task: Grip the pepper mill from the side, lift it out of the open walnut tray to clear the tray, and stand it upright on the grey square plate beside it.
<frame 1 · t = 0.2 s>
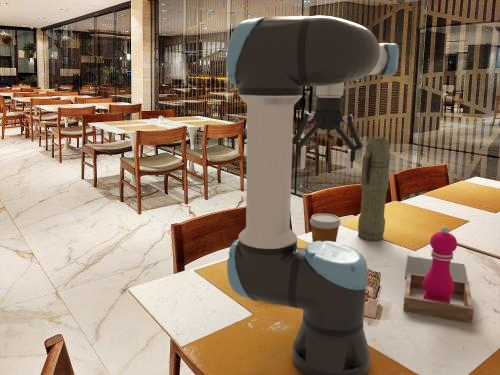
hand: (325, 170, 131), 28 cm above the table, tool pointing down, fingers open, 13 cm apart
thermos: (370, 237, 156), on the table
disposable coffee cup: (323, 254, 142), on the table
pie: (278, 284, 122), on the table
grey square plate: (435, 271, 129), on the table
pepper mill: (436, 302, 112), resting in walnut tray
walnut tray: (436, 302, 112), on the table
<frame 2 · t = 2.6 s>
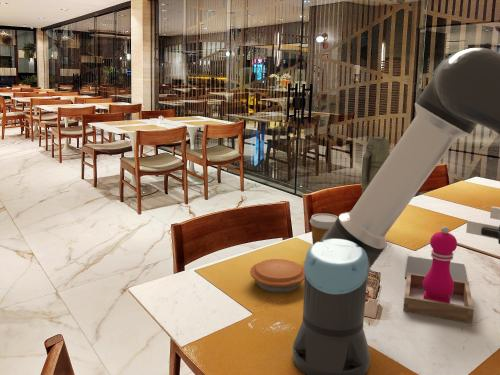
hand: (479, 218, 101), 24 cm above the table, tool horizontal, fingers open, 13 cm apart
nothing on the table moved.
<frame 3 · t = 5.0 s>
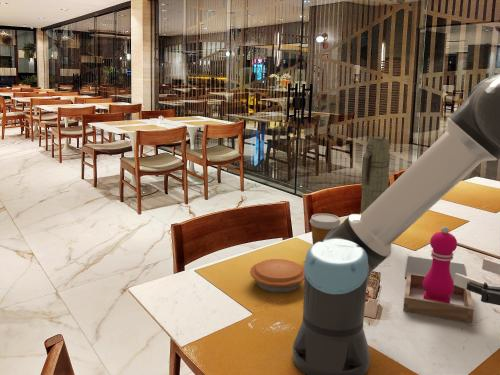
hand: (469, 270, 104), 11 cm above the table, tool horizontal, fingers open, 13 cm apart
nothing on the table moved.
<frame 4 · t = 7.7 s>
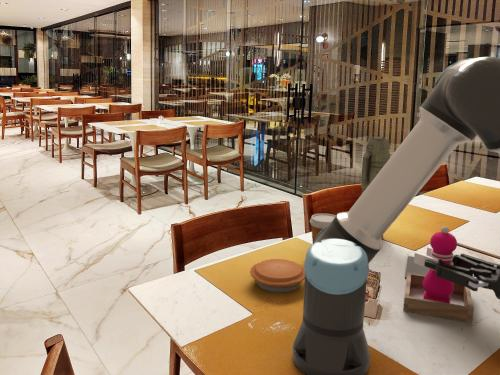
hand: (421, 254, 113), 11 cm above the table, tool horizontal, fingers closed on pepper mill, 5 cm apart
pepper mill: (436, 302, 112), resting in walnut tray, touching gripper
everything else where it was.
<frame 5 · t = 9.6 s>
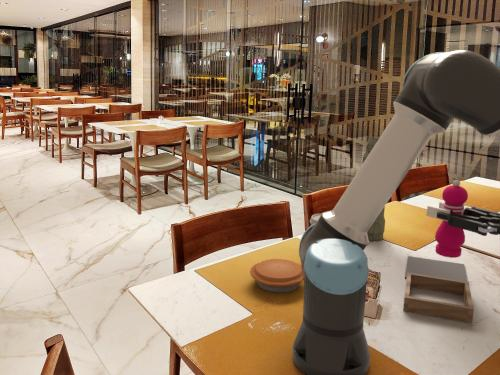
hand: (433, 208, 120), 20 cm above the table, tool horizontal, fingers closed on pepper mill, 5 cm apart
pepper mill: (447, 253, 118), point 9 cm above the table, touching gripper
everything else where it was.
when the fingers open (13 cm above the table, at t = 11.7 s): pepper mill drops 1 cm, resting on grey square plate.
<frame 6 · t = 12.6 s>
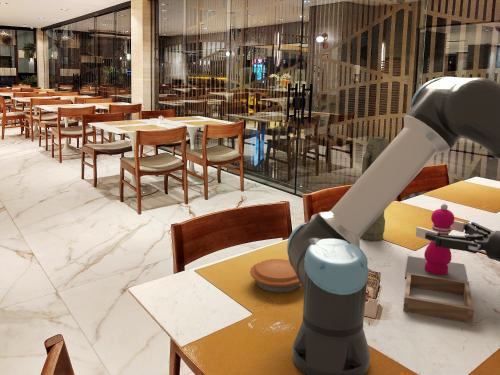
hand: (429, 226, 128), 13 cm above the table, tool horizontal, fingers open, 13 cm apart
pepper mill: (435, 270, 129), resting on grey square plate
everything else where it was.
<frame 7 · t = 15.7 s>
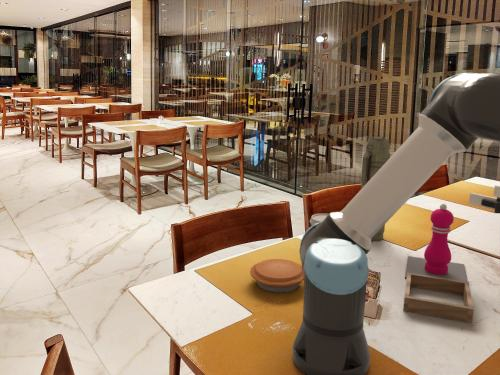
hand: (482, 194, 115), 25 cm above the table, tool horizontal, fingers open, 13 cm apart
nothing on the table moved.
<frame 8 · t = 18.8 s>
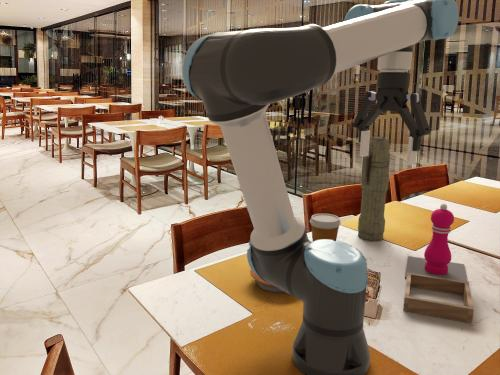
hand: (386, 160, 111), 35 cm above the table, tool pointing down, fingers open, 13 cm apart
nothing on the table moved.
at the end: pepper mill inside the target area on the grey square plate (0.1 cm from its centre), point 0.3 cm above the grey square plate's base; pepper mill tilted 0°; the gripper is holding nothing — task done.
